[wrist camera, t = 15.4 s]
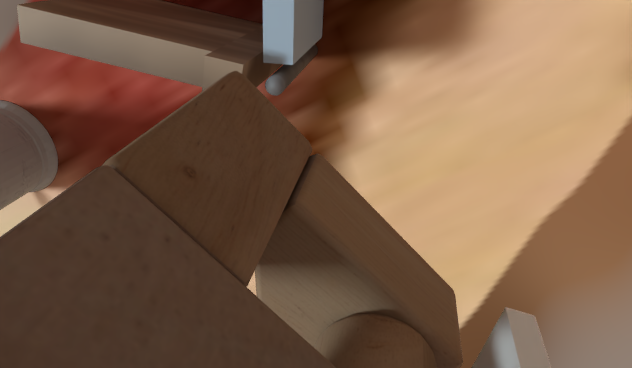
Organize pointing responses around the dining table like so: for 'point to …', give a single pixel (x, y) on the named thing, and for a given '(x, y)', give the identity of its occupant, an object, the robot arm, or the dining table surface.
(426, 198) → the dining table surface
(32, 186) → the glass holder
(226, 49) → the notched wooden plank
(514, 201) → the dining table surface
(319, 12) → the door
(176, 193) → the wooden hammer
